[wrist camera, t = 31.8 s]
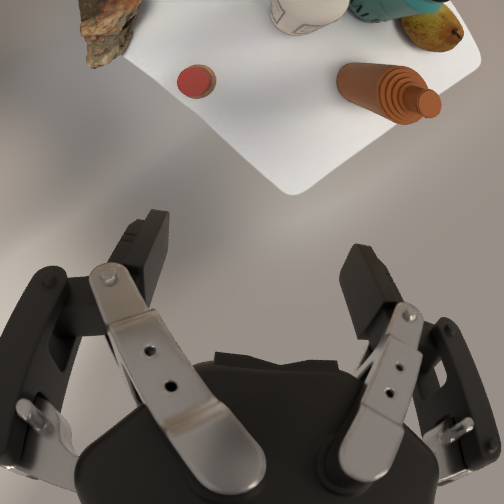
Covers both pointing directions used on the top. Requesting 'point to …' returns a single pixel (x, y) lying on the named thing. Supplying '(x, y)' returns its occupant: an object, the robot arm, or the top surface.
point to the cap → (194, 81)
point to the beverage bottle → (392, 8)
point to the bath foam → (305, 14)
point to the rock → (106, 28)
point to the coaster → (212, 86)
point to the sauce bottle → (388, 91)
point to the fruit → (434, 30)
